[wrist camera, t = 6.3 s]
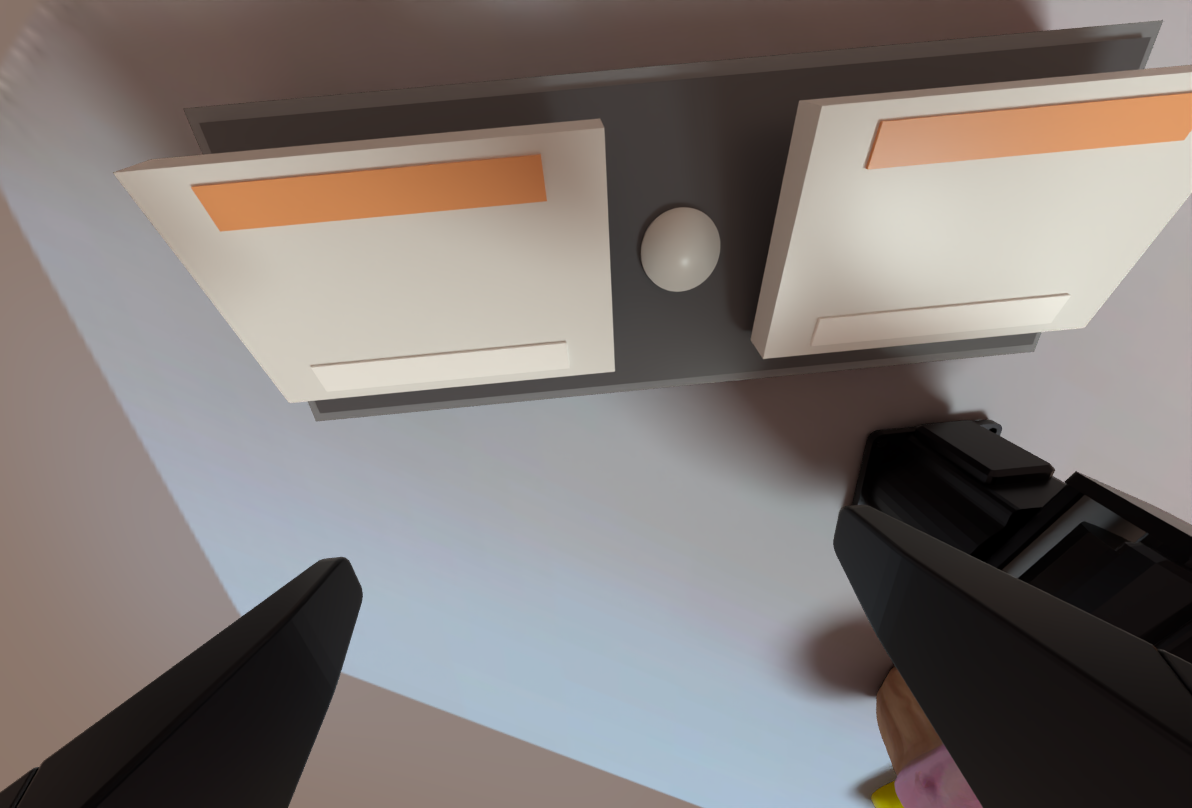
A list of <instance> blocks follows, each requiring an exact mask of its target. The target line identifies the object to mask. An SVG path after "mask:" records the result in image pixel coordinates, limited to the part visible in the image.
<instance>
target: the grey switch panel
mask: <svg viewBox="0 0 1192 808" xmlns="http://www.w3.org/2000/svg"><path fill="white" fill-rule="evenodd" d="M1162 22H1163V20H1161V21H1150V22H1139V23H1128V24H1117V25H1105V26H1094V27H1083V28H1072V29H1061V30H1050V31H1039V32H1028V33H1017V34H1006V35H994V36H983V37H972V38H961V39H950V40H939V41H928V42H917V43H906V44H895V45H883V46H872V47H861V48H850V49H839V50H828V51H817V52H806V53H795V54H783V55H772V56H761V57H750V58H739V59H728V60H717V61H706V62H695V63H684V64H672V65H661V66H650V67H639V68H628V69H617V70H606V71H595V72H584V73H572V74H561V75H550V76H539V77H528V78H517V79H506V80H495V81H484V82H473V83H461V84H450V85H439V86H428V87H417V88H406V89H395V90H384V91H373V92H361V93H350V94H339V95H328V96H317V97H306V98H295V99H284V100H273V101H262V102H250V103H239V104H228V105H217V106H206V107H195V108H184V112H185V114H186V116H187V119H188V121H189V123H190V126H191V128H192V130H193V133H194V135H195V138H196V140H197V142H198V145H199V147H200V149H201V152H202V154H203V155H205V154H216V153H227V152H238V151H249V150H260V149H271V148H282V147H292V146H303V145H314V144H325V143H336V142H347V141H358V140H369V139H380V138H391V137H402V136H413V135H424V134H435V133H446V132H457V131H468V130H479V129H490V128H501V127H512V126H523V125H534V124H545V123H556V122H567V121H578V120H589V119H601V122H602V124H603V126H604V131H605V154H606V177H607V200H608V223H609V246H610V269H611V291H612V314H613V337H614V360H615V372H605V373H595V374H585V375H574V376H564V377H554V378H543V379H533V380H523V381H512V382H502V383H492V384H481V385H471V386H461V387H450V388H440V389H429V390H419V391H409V392H398V393H388V394H378V395H367V396H357V397H347V398H336V399H326V400H316V401H308V403H309V406H310V408H311V410H312V413H313V415H314V417H315V420H316V421H325V420H336V419H346V418H356V417H367V416H377V415H387V414H397V413H408V412H418V411H428V410H439V409H449V408H459V407H470V406H480V405H490V404H500V403H511V402H521V401H531V400H542V399H552V398H562V397H572V396H583V395H593V394H603V393H614V392H624V391H634V390H644V389H655V388H665V387H675V386H686V385H696V384H706V383H717V382H727V381H737V380H747V379H758V378H768V377H778V376H789V375H799V374H809V373H819V372H830V371H840V370H850V369H861V368H871V367H881V366H891V365H902V364H912V363H922V362H933V361H943V360H953V359H963V358H974V357H984V356H994V355H1005V354H1015V353H1025V352H1034V350H1035V348H1036V345H1037V343H1038V340H1039V337H1040V335H1041V332H1036V333H1026V334H1015V335H1005V336H995V337H984V338H974V339H964V340H953V341H943V342H933V343H922V344H912V345H902V346H891V347H881V348H871V349H860V350H850V351H840V352H829V353H819V354H809V355H798V356H788V357H778V358H767V359H763V358H762V357H761V355H760V354H759V352H758V351H757V349H756V348H755V346H754V344H753V343H752V341H751V335H752V330H753V325H754V320H755V315H756V310H757V305H758V301H759V296H760V291H761V286H762V281H763V276H764V271H765V266H766V261H767V256H768V251H769V246H770V241H771V236H772V232H773V227H774V222H775V217H776V212H777V207H778V202H779V197H780V192H781V187H782V182H783V177H784V172H785V167H786V163H787V158H788V153H789V148H790V143H791V138H792V133H793V128H794V123H795V118H796V113H797V108H798V103H799V101H800V100H811V99H822V98H833V97H844V96H855V95H866V94H877V93H888V92H899V91H909V90H920V89H931V88H942V87H953V86H964V85H975V84H986V83H997V82H1008V81H1019V80H1030V79H1041V78H1052V77H1063V76H1074V75H1085V74H1096V73H1107V72H1118V71H1129V70H1140V69H1144V68H1145V66H1146V63H1147V61H1148V58H1149V56H1150V53H1151V50H1152V48H1153V45H1154V43H1155V40H1156V38H1157V35H1158V33H1159V30H1160V27H1161V25H1162Z"/></svg>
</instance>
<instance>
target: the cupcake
mask: <svg viewBox="0 0 1192 808" xmlns="http://www.w3.org/2000/svg"><path fill="white" fill-rule="evenodd" d="M876 698H877V703H876V714H877V722H878V726H879V730H880V733H881V736H882V739H883V742H884V744H885V746H886V749H887V752H888V755H889V757H890V760H891V762H892V765H893V768H894V770H895V773H896V774H897V778H896V779H895V783H894V784H895V790H896V794H897V796H898V798H899V800H900V802H901V803H902V805H903V807H904V808H983V807H982V806H981V804H980V802H979V801H978V799H977V798H976V796H975V794H974V793H973V791H972V789H971V788H970V786H969V785H968V783H967V781H966V780H965V778H964V776H963V775H962V773H961V772H960V770H959V768H958V767H957V765H956V764H955V762H954V760H953V759H952V757H951V755H950V754H949V752H948V751H947V749H946V747H945V746H944V744H943V743H942V741H941V739H940V738H939V736H938V734H937V733H936V731H935V730H934V728H933V726H932V725H931V723H930V721H929V720H928V718H927V717H926V715H925V713H924V712H923V710H922V709H921V707H920V705H919V704H918V702H917V700H916V699H915V697H914V696H913V694H912V692H911V691H910V689H909V688H908V686H907V684H906V683H905V681H904V679H903V678H902V676H901V675H900V673H899V671H898V670H897V668H896V667H894V668H893V669H891V671H890V672H889V674H888V675H887V677H886V678H885V680H884V682H883V684H882V686H881V688H880V689H879V691H878V693H877V697H876Z"/></svg>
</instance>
